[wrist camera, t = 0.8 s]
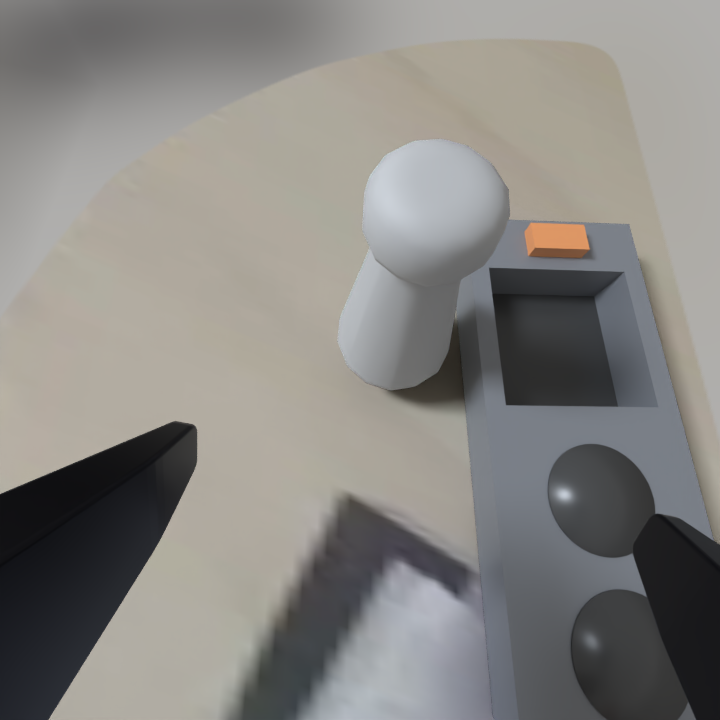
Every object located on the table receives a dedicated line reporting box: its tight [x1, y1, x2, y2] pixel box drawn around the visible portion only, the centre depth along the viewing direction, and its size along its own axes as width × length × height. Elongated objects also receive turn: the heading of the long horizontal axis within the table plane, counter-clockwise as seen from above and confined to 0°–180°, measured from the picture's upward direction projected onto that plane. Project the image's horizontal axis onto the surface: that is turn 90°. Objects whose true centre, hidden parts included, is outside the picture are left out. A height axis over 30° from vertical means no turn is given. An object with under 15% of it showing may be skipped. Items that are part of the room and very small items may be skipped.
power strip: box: [456, 220, 714, 720], centre depth 19 cm, size 31×10×4 cm, turn 0°
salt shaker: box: [338, 139, 510, 391], centre depth 17 cm, size 6×6×13 cm
